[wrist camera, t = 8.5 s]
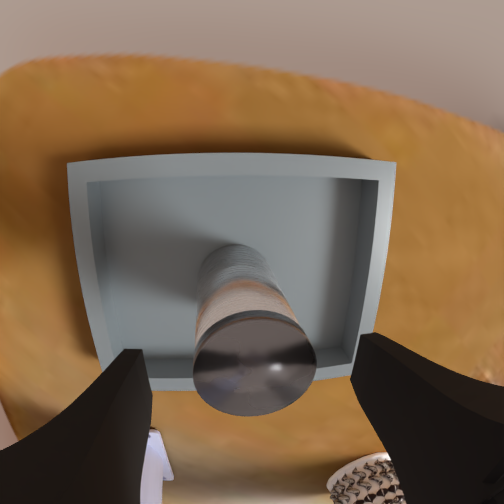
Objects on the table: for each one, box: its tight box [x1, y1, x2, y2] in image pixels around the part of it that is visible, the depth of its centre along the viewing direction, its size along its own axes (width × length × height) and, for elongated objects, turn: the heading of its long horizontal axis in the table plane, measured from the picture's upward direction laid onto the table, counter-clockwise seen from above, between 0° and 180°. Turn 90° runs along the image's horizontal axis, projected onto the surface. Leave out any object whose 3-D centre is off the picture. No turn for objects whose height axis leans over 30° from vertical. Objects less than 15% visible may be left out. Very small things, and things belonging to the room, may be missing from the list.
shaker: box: [193, 244, 317, 416], centre depth 14 cm, size 4×4×8 cm
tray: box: [67, 153, 396, 391], centre depth 17 cm, size 16×13×2 cm
